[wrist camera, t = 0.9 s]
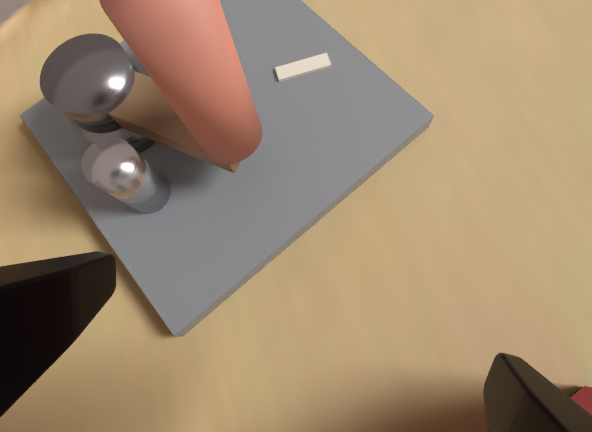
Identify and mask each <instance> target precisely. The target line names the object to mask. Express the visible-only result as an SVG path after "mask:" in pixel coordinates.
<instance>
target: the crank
mask: <svg viewBox="0 0 592 432" xmlns="http://www.w3.org/2000/svg"><path fill="white" fill-rule="evenodd" d="M100 4H101V6H102V8H103V10H104V12H105V13H106V15H107V16H108V17H109V19H110V20H111V22H112V23H113V24H114V26H115V27H116V29H117V30H118V32H119V33H120V34H121V36H122V37H123V39H124V40H125V41H126V43H127V44H128V46H129V47H130V48H131V50H132V51H133V53H134V54H135V56H136V57H137V58H138V60H139V61H140V63H141V64H142V65H143V67H144V68H145V70H146V71H147V73H148V74H149V75H150V77H149V76H146V75H144V74H141V72H140V71H139V69H138V68H137V67H136V65H135V64H134V63H133V61H132V60H131V59H130V57H129V56H128V54H127V53H126V52H125V50H124V49H123V48H122V46H121V45H120V44H119V43H118V42H117V41H116V40H114V39H113V38H111V37H108V36H106V35H102V34H84V35H80V36H77V37H74V38H72V39H69V40H68V41H66V42H64V43H63V44H61V45H60V46H58V47H57V48H56V49H55V50H54V51H53V52H52V53H51V54H50V56H49V57H48V58H47V60H46V61H45V63H44V65H43V68H42V70H41V75H40V87H41V91H42V93H43V95H44V97H45V98H46V99H47V100H48V102H49V103H51V104H52V105H53V106H54V107H56V108H57V109H58V110H59V111H60V112H62V113H63V114H64V115H65V116H67V117H68V118H69V119H70V120H72V121H73V122H74V123H75V124H76V125H78V126H79V127H80V128H82V129H84V130H86V131H88V132H92V133H100V134H101V133H109V132H113V131H117V130H119V129H121V128H124V129H126V130H129V131H131V132H134V133H136V134H139V135H141V136H144V137H146V138H149V139H151V140H153V141H156V142H158V143H161V144H163V145H166V146H168V147H171V148H173V149H176V150H178V151H181V152H183V153H185V154H188V155H190V156H193V157H195V158H198V159H200V160H203V161H205V162H208V163H210V164H212V165H215V166H217V167H220V168H222V169H225V170H227V171H230V172H232V173H235V172H236V170H237V168H238V166H239V164H240V162H241V161H242V160H244V159H246V158H248V157H249V156H250V155H252V154H253V153H254V152H255V150H256V149H257V148H258V146H259V144H260V142H261V139H262V125H261V122H260V119H259V116H258V113H257V110H256V107H255V104H254V101H253V98H252V95H251V92H250V90H249V87H248V84H247V81H246V78H245V75H244V72H243V69H242V66H241V63H240V60H239V57H238V54H237V51H236V48H235V45H234V42H233V39H232V36H231V33H230V30H229V27H228V24H227V21H226V18H225V15H224V12H223V9H222V6H221V3H220V0H100Z"/></svg>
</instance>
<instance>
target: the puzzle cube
mask: <svg viewBox="0 0 592 432" xmlns="http://www.w3.org/2000/svg"><path fill="white" fill-rule="evenodd" d="M570 398H571V399H572V400H574V401H575V402H576V403H577V404H579V405H580V406H581V407H582V408H584V409H585V410H586V411H587V412H589V413H590V414H591V415H592V388H591V387H586V386H584V387H583V388H582V389H580V390H579V391H578V392H576V393H575V394H574V395H573V396H571V397H570Z"/></svg>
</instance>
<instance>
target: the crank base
mask: <svg viewBox="0 0 592 432" xmlns="http://www.w3.org/2000/svg"><path fill="white" fill-rule="evenodd" d="M220 3H221V6H222V9H223V12H224V15H225V18H226V21H227V24H228V27H229V30H230V33H231V36H232V39H233V42H234V45H235V48H236V51H237V54H238V57H239V60H240V63H241V66H242V69H243V72H244V75H245V78H246V81H247V84H248V87H249V90H250V92H251V95H252V98H253V101H254V104H255V107H256V110H257V113H258V116H259V119H260V122H261V125H262V139H261V142H260V144H259V146H258V148H257V149H256V150H255V152H254V153H253V154H252V155H250V156H249V157H248V158H246V159H244V160H242V161H241V162H240V164H239V166H238V168H237V170H236V172H235V173H232V172H230V171H227V170H225V169H222V168H220V167H217V166H215V165H212V164H210V163H208V162H205V161H203V160H200V159H198V158H195V157H193V156H190V155H188V154H185V153H183V152H181V151H178V150H176V149H173V148H171V147H168V146H166V145H163V144H161V143H158V142H156V141H153V140H151V139H149V138H146V137H144V136H141V135H139V134H136V133H134V132H131V131H129V130H126V129H124V128H121V129H119V130H117V131H113V132H109V133H101V134H100V133H92V132H88V131H86V130H84V129H82V128H80V127H79V126H78V125H76V124H75V123H74V122H73V121H72V120H70V119H69V118H68V117H67V116H65V115H64V114H63V113H62V112H60V111H59V110H58V109H57V108H56V107H54V106H53V105H52V104H51V103H49V102H48V100H47V99H46V98H43V99H42V100H40V101H39V102H38V103H36V104H35V105H33V106H32V107H31V108H29V109H28V110H26V111H25V112H24V113H22V114H21V115H20V117H21V118H22V120H23V121H24V123H25V124H26V125H27V127H28V128H29V130H30V131H31V133H32V134H33V135H34V137H35V138H36V140H37V141H38V143H39V144H40V145H41V147H42V148H43V150H44V151H45V153H46V154H47V155H48V157H49V158H50V160H51V161H52V163H53V164H54V165H55V167H56V168H57V170H58V171H59V173H60V174H61V175H62V177H63V178H64V180H65V181H66V183H67V184H68V185H69V187H70V188H71V190H72V191H73V193H74V194H75V195H76V197H77V198H78V200H79V201H80V203H81V204H82V205H83V207H84V208H85V210H86V211H87V213H88V214H89V215H90V217H91V218H92V220H93V221H94V223H95V224H96V226H97V227H98V228H99V230H100V231H101V233H102V234H103V236H104V237H105V238H106V240H107V241H108V243H109V244H110V246H111V247H112V248H113V250H114V251H115V253H116V254H117V256H118V257H119V258H120V260H121V261H122V263H123V264H124V266H125V267H126V268H127V270H128V271H129V273H130V274H131V276H132V277H133V278H134V280H135V281H136V283H137V284H138V286H139V287H140V288H141V290H142V291H143V293H144V294H145V296H146V297H147V298H148V300H149V301H150V303H151V304H152V306H153V307H154V308H155V310H156V311H157V313H158V314H159V316H160V317H161V318H162V320H163V321H164V323H165V324H166V326H167V327H168V328H169V330H170V331H171V333H172V334H173V336H183V335H185V334H186V333H187V332H188V331H189V330H190V329H192V328H193V327H194V326H195V325H196V324H197V323H199V322H200V321H201V320H202V319H203V318H205V317H206V316H207V315H208V314H209V313H210V312H212V311H213V310H214V309H215V308H216V307H217V306H219V305H220V304H221V303H222V302H223V301H224V300H226V299H227V298H228V297H229V296H230V295H232V294H233V293H234V292H235V291H236V290H237V289H239V288H240V287H241V286H242V285H243V284H244V283H246V282H247V281H248V280H249V279H250V278H252V277H253V276H254V275H255V274H256V273H257V272H259V271H260V270H261V269H262V268H263V267H264V266H266V265H267V264H268V263H269V262H270V261H271V260H273V259H274V258H275V257H276V256H277V255H279V254H280V253H281V252H282V251H283V250H284V249H286V248H287V247H288V246H289V245H290V244H291V243H293V242H294V241H295V240H296V239H297V238H299V237H300V236H301V235H302V234H303V233H304V232H306V231H307V230H308V229H309V228H310V227H311V226H313V225H314V224H315V223H316V222H317V221H318V220H320V219H321V218H322V217H323V216H324V215H326V214H327V213H328V212H329V211H330V210H331V209H333V208H334V207H335V206H336V205H337V204H338V203H340V202H341V201H342V200H343V199H344V198H346V197H347V196H348V195H349V194H350V193H351V192H353V191H354V190H355V189H356V188H357V187H358V186H360V185H361V184H362V183H363V182H364V181H365V180H367V179H368V178H369V177H370V176H371V175H373V174H374V173H375V172H376V171H377V170H378V169H380V168H381V167H382V166H383V165H384V164H385V163H387V162H388V161H389V160H390V159H391V158H392V157H394V156H395V155H396V154H397V153H398V152H400V151H401V150H402V149H403V148H404V147H405V146H407V145H408V144H409V143H410V142H411V141H412V140H414V139H415V138H416V137H417V136H418V135H420V134H421V133H422V132H423V131H424V130H425V129H427V128H428V127H429V125H430V123H431V121H432V119H433V117H434V115H433V114H432V113H430V112H429V111H428V110H427V109H426V108H425V107H423V106H422V105H421V104H420V103H419V102H418V101H417V100H415V99H414V98H413V97H412V96H411V95H410V94H408V93H407V92H406V91H405V90H404V89H403V88H402V87H400V86H399V85H398V84H397V83H396V82H395V81H393V80H392V79H391V78H390V77H389V76H388V75H387V74H385V73H384V72H383V71H382V70H381V69H380V68H378V67H377V66H376V65H375V64H374V63H373V62H372V61H370V60H369V59H368V58H367V57H366V56H365V55H363V54H362V53H361V52H360V51H359V50H358V49H357V48H355V47H354V46H353V45H352V44H351V43H350V42H348V41H347V40H346V39H345V38H344V37H343V36H342V35H340V34H339V33H338V32H337V31H336V30H335V29H333V28H332V27H331V26H330V25H329V24H328V23H327V22H325V21H324V20H323V19H322V18H321V17H320V16H318V15H317V14H316V13H315V12H314V11H313V10H312V9H310V8H309V7H308V6H307V5H306V4H305V3H303V2H302V1H301V0H220ZM120 45H121V46H122V48H123V49H124V50H125V52H126V53H127V54H128V56H129V57H130V59H131V60H132V61H133V63H134V64H135V65H136V67H137V68H138V69H139V71H140V72H141V74H144V75H146V76H149V77H150V75H149V74H148V73H147V71H146V70H145V68H144V67H143V65H142V64H141V63H140V61H139V60H138V58H137V57H136V56H135V54H134V53H133V51H132V50H131V48H130V47H129V46H128V44H127V43H126V41H125V40H124V41H123V42H121V43H120Z"/></svg>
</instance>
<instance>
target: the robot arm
mask: <svg viewBox="0 0 592 432" xmlns="http://www.w3.org/2000/svg"><path fill="white" fill-rule="evenodd" d="M115 288H116V259H115V257H114V256H113V255H111V254H107V253H103V252H98V251H97V252H90V253H84V254H77V255H71V256H65V257H58V258H52V259H46V260H39V261H33V262H27V263H20V264H14V265H8V266H1V267H0V417H1V416H2V415H3V414H4V413H5V412H6V411H7V410H8V409H9V408H10V407H11V406H12V405H13V404H14V403H15V402H16V401H17V400H18V399H19V398H20V397H21V396H22V395H23V394H24V393H25V392H26V391H27V390H28V389H29V388H30V387H31V386H32V385H33V384H34V383H35V382H36V381H37V380H38V379H39V378H40V376H41V375H42V374H43V373H44V372H45V371H46V370H47V369H48V368H49V367H50V366H51V365H52V364H53V363H54V362H55V361H56V360H57V359H58V358H59V357H60V356H61V355H62V354H63V353H64V352H65V351H66V350H67V349H68V348H69V347H70V346H71V345H72V344H73V342H74V341H75V340H76V339H77V338H78V337H79V335H80V334H81V333H82V332H83V331H84V329H85V328H86V327H87V326H88V324H89V323H90V322H91V321H92V320H93V318H94V317H95V316H96V315H97V313H98V312H99V311H100V310H101V308H102V307H103V306H104V305H105V303H106V302H107V301H108V300H109V299H110V297H111V296H112V295H113V293H114V291H115ZM484 402H485V410H486V417H487V425H488V432H592V415H591V414H590V413H589V412H587V411H586V410H585V409H584V408H582V407H581V406H580V405H579V404H577V403H576V402H575V401H574V400H572V399H571V398H570V397H569V396H568V395H566V394H565V393H564V392H563V391H561V390H560V389H559V388H558V387H556V386H555V385H554V384H553V383H551V382H550V381H549V380H548V379H546V378H545V377H544V376H543V375H541V374H540V373H539V372H538V371H536V370H535V369H534V368H533V367H531V366H530V365H529V364H528V363H526V362H525V361H524V360H523V359H521V358H520V357H517V356H513V355H509V354H505V353H499V354H497V355H496V357H495V358H494V361H493V363H492V366H491V368H490V371H489V373H488V376H487V378H486V381H485V384H484Z"/></svg>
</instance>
